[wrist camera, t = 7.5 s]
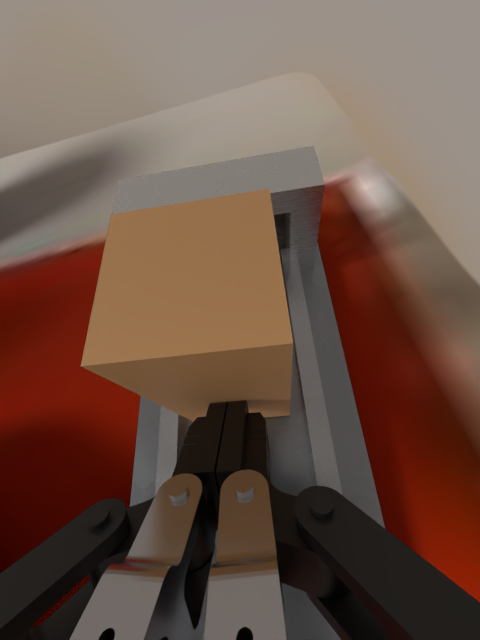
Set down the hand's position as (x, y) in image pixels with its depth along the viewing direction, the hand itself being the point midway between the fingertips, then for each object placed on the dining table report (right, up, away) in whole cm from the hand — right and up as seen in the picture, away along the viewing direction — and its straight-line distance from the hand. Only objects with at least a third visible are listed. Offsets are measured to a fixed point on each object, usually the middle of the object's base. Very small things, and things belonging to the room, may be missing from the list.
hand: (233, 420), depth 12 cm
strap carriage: (0, +4, +6) cm, 8 cm away
